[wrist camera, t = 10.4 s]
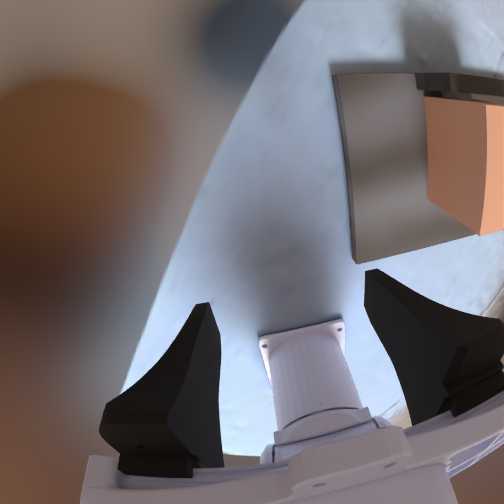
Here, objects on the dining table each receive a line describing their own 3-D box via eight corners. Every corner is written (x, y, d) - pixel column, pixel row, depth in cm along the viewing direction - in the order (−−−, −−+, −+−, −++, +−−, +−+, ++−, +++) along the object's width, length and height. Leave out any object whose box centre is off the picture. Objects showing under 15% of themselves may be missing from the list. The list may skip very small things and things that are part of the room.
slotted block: (470, 192, 20) (522, 223, 14) (427, 199, 20) (479, 236, 15) (470, 98, 16) (530, 110, 11) (423, 96, 17) (485, 104, 11)
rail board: (501, 221, 23) (532, 243, 18) (352, 258, 23) (376, 294, 19) (504, 83, 16) (543, 90, 12) (332, 76, 17) (362, 70, 12)
